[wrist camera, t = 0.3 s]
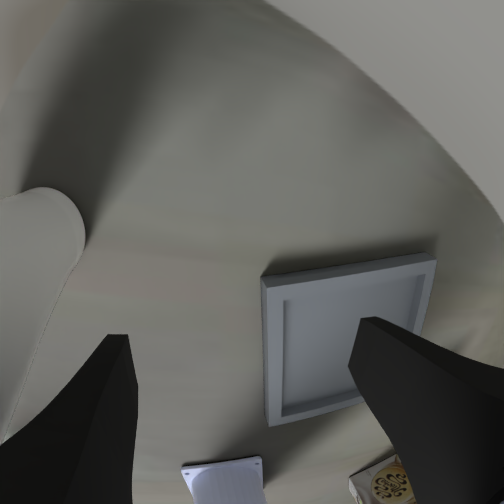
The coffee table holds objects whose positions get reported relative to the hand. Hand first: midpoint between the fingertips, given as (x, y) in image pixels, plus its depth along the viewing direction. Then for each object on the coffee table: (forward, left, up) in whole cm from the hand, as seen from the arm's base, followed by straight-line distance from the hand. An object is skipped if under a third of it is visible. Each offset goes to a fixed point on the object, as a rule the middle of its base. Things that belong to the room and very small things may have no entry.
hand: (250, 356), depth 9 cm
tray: (-9, -9, -10) cm, 16 cm away
